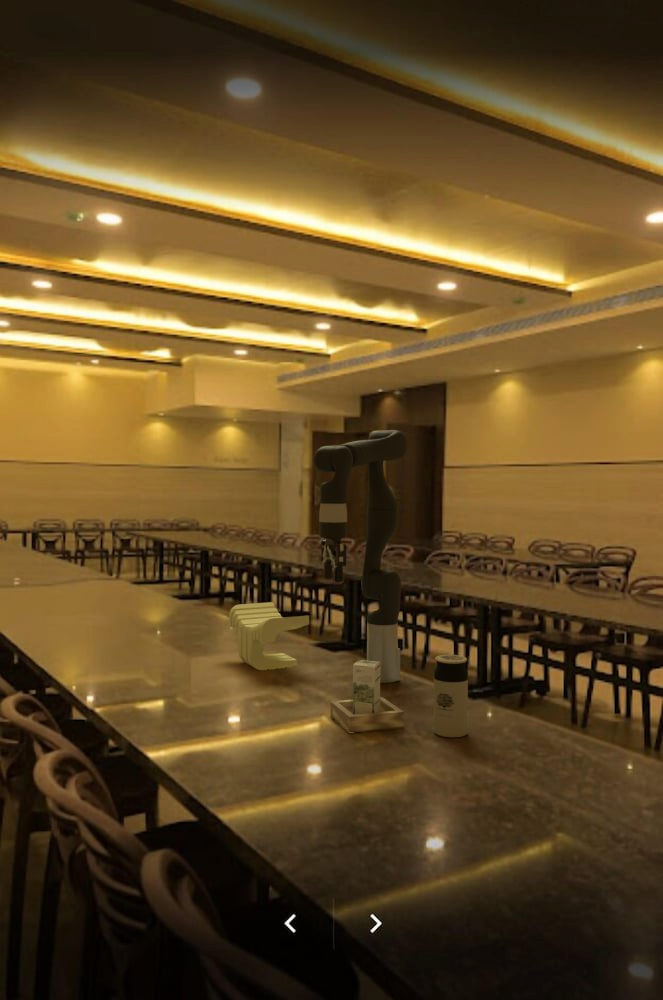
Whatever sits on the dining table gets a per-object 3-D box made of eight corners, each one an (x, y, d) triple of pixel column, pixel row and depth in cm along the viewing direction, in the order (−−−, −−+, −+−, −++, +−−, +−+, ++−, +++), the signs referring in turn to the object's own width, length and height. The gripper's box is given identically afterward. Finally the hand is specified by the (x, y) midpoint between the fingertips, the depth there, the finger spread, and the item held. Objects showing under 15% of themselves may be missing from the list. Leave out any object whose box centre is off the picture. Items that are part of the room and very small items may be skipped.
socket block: (381, 712, 206) (381, 696, 206) (403, 728, 193) (403, 711, 193) (330, 717, 202) (330, 701, 202) (349, 733, 189) (349, 717, 189)
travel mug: (447, 725, 195) (447, 652, 195) (474, 733, 189) (474, 658, 189) (426, 733, 190) (427, 657, 189) (453, 740, 184) (454, 663, 183)
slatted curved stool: (228, 657, 269) (228, 605, 269) (272, 653, 276) (272, 602, 276) (261, 677, 242) (261, 619, 242) (308, 672, 249) (309, 615, 249)
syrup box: (380, 718, 199) (381, 660, 199) (374, 725, 194) (374, 665, 193) (358, 716, 201) (359, 659, 201) (352, 722, 196) (352, 664, 195)
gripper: (355, 521, 209) (355, 583, 209) (337, 518, 223) (337, 576, 223) (328, 521, 207) (328, 584, 207) (312, 519, 220) (311, 577, 221)
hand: (333, 580), depth 215 cm, fingers open, 8 cm apart
